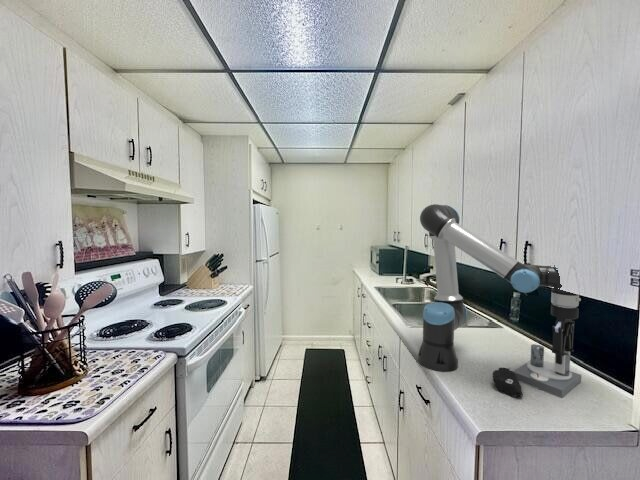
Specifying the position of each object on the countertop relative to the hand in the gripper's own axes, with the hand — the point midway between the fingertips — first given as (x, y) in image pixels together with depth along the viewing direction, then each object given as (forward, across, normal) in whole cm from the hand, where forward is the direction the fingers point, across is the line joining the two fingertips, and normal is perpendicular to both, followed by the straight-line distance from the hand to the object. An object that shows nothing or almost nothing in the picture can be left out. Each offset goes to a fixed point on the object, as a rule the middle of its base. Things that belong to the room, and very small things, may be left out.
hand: (561, 370), depth 106 cm
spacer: (+1, 0, +8) cm, 8 cm away
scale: (+5, -2, +4) cm, 6 cm away
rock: (+5, -20, +9) cm, 23 cm away
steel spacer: (+1, 0, 0) cm, 1 cm away
